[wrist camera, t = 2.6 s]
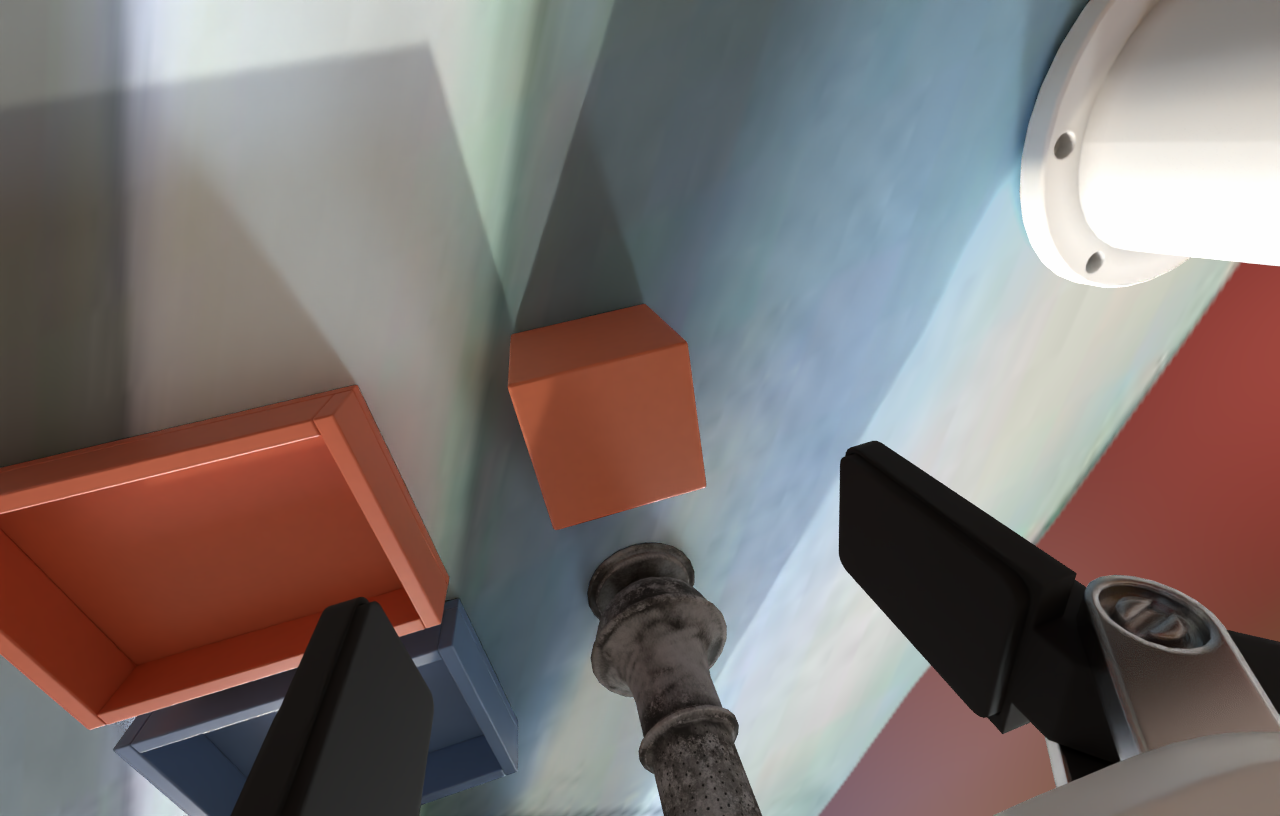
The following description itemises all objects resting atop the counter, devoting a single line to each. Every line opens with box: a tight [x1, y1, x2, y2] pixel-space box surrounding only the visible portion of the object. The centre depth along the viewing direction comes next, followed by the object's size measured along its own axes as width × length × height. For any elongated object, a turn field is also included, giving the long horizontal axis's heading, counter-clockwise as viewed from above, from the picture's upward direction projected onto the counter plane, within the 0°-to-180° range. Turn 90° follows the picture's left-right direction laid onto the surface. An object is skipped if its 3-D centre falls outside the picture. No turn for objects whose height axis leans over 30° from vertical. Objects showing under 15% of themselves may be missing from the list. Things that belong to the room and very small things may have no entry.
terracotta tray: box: [0, 385, 449, 730], centre depth 17 cm, size 12×9×2 cm
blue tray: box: [113, 598, 518, 816], centre depth 21 cm, size 12×9×2 cm
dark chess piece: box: [587, 543, 762, 816], centre depth 18 cm, size 6×6×12 cm
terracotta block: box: [508, 304, 706, 530], centre depth 16 cm, size 5×5×5 cm
